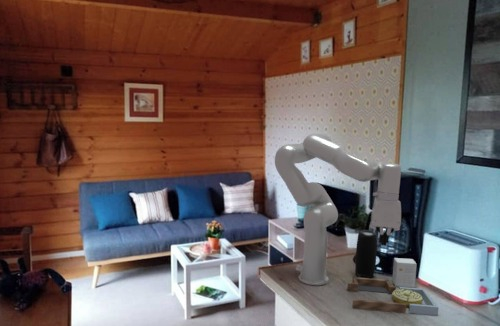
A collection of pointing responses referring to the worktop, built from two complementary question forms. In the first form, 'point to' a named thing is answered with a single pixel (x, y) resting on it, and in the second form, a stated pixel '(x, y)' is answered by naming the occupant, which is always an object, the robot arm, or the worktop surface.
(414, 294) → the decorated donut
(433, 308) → the frame
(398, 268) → the small box
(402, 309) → the low maze walls
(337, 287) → the worktop surface
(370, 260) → the portable speaker
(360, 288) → the mat
